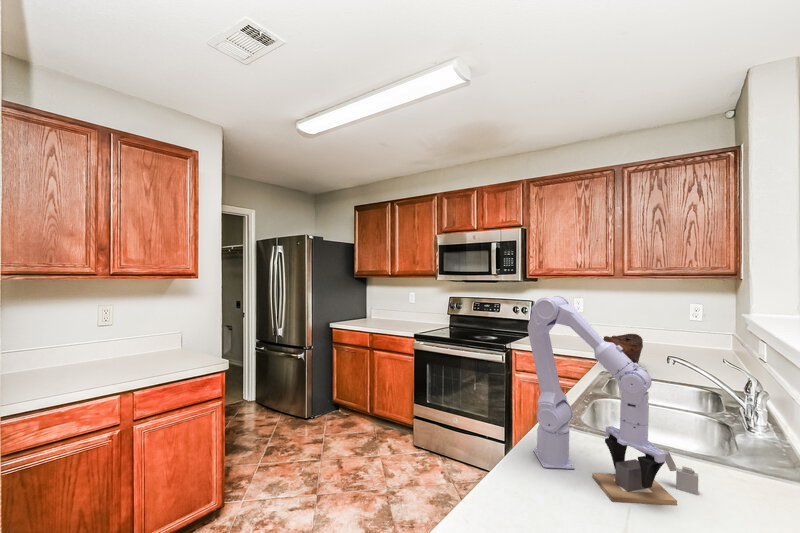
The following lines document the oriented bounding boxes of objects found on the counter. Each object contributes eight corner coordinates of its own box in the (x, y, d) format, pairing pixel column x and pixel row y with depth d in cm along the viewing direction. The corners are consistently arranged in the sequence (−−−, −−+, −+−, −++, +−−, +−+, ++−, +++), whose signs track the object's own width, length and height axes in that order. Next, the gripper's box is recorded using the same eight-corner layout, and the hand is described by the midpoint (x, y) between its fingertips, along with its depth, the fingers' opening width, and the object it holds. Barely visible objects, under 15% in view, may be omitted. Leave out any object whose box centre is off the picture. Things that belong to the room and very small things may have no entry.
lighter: (697, 491, 91) (698, 458, 91) (697, 495, 89) (698, 460, 89) (661, 481, 95) (662, 448, 95) (661, 484, 94) (661, 451, 94)
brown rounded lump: (597, 368, 199) (599, 334, 199) (606, 361, 214) (608, 329, 214) (637, 376, 187) (639, 339, 187) (644, 368, 203) (646, 334, 202)
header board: (592, 476, 96) (592, 465, 96) (650, 479, 96) (650, 468, 96) (612, 501, 86) (612, 489, 86) (677, 505, 86) (677, 492, 86)
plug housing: (615, 483, 92) (615, 462, 92) (635, 479, 93) (635, 459, 93) (627, 491, 88) (628, 470, 88) (648, 488, 90) (648, 466, 90)
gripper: (596, 410, 97) (594, 464, 97) (648, 435, 83) (646, 498, 83) (618, 408, 99) (617, 460, 99) (673, 432, 85) (671, 493, 85)
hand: (632, 477), depth 91 cm, fingers open, 7 cm apart
